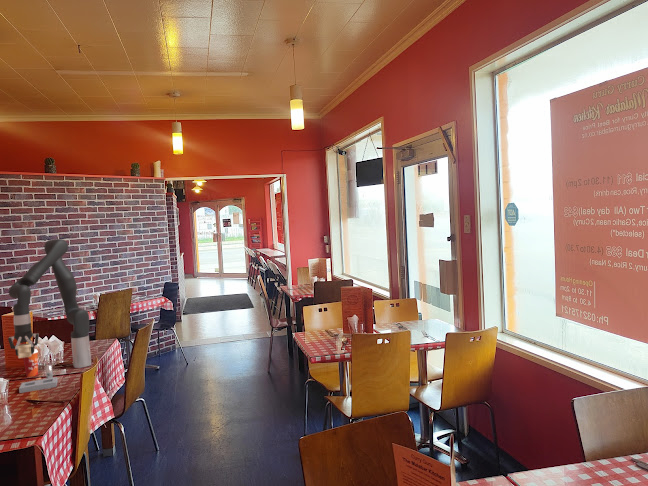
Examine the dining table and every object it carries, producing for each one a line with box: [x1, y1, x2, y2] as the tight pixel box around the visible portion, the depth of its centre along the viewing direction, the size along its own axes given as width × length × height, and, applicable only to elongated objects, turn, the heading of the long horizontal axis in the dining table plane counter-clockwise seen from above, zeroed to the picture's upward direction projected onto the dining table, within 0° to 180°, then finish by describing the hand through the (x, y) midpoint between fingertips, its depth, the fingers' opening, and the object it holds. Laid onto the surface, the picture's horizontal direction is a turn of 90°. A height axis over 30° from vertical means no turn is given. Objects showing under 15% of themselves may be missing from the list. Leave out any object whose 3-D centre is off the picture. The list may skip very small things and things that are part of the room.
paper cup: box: [22, 348, 39, 378], centre depth 271 cm, size 8×8×14 cm
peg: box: [44, 364, 54, 379], centre depth 259 cm, size 3×3×8 cm
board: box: [18, 376, 59, 394], centre depth 249 cm, size 16×10×2 cm, turn 115°
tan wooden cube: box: [17, 342, 32, 359], centre depth 255 cm, size 6×6×6 cm
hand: (25, 354), depth 255 cm, fingers closed on tan wooden cube, 5 cm apart
